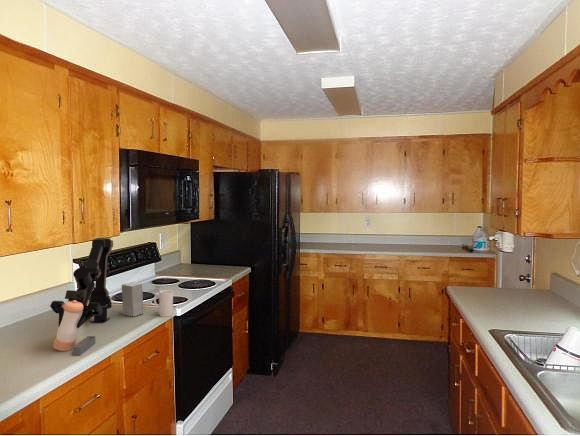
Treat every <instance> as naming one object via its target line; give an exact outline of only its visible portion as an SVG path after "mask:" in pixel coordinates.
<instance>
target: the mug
mask: <svg viewBox="0 0 580 436" xmlns="http://www.w3.org/2000/svg"><path fill="white" fill-rule="evenodd" d="M157 298H158V302H157ZM153 303H154V306H155V309H156V310H158V313H159V316H160V317H161V318H162V317H163V318H167V317H171V316H172V315H173V309H174V308H173V305H174V291H173V290H169V289H167V290H166V289H164V290H159V292H155V295H154V297H153Z"/></svg>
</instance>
